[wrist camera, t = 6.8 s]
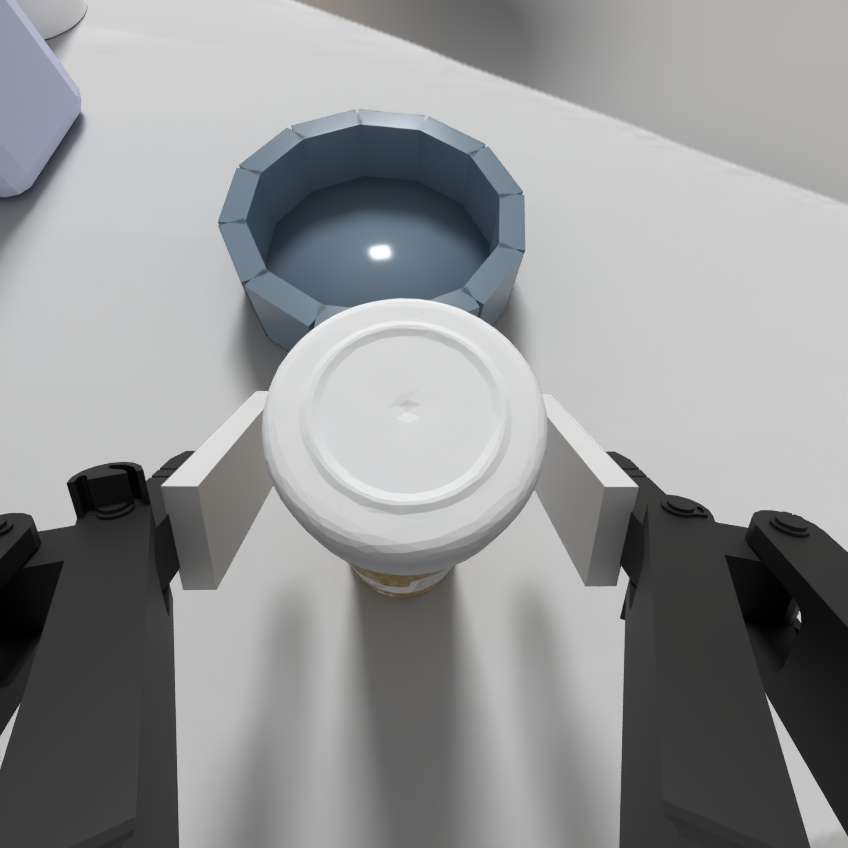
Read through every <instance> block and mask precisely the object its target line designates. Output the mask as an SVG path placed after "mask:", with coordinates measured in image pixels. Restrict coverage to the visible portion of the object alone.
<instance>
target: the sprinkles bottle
mask: <svg viewBox="0 0 848 848" xmlns="http://www.w3.org/2000/svg"><path fill="white" fill-rule="evenodd" d="M261 436H262V447H263V452H264V458H265V464H266V467H267V470H268V473H269V476H270V478H271V480H272V483H273V485H274V487H275V489H276V491H277V493H278V495H279V496H280V498H281V500H282V501H283V503H284V504H285V506H286V507H287V509H288V510H289V511H290V512H291V514H292V515H293V516H294V517H295V518H296V520H297V521H298V522H299V523H300V524H301V525H302V526H303V527H304V529H305V530H306V531H307V532H308V533H309V534H311V535H312V536H313V537H314V538H315V539H316V540H317V541H318V542H319V543H321V544H322V545H323V546H324V547H325V548H327V549H328V550H329V551H331V552H332V553H333V554H335V555H337V556H338V557H340V558H341V559H343V560H345V561H346V562H347V563H348V564H349V565H350V566H351V567H352V568H353V569H354V570H355V571H356V572H357V574H358V576H359V577H360V578H361V579H362V580H363V582H364V583H365V584H367V585H368V586H369V587H370V588H372V589H373V590H375V591H376V592H378V593H380V594H382V595H385V596H389V597H394V598H410V597H415V596H417V595H420V594H423V593H426V592H428V591H430V590H431V589H432V588H433V587H434V586H435V585H437V584H438V583H440V582H441V581H442V580H443V578H444V577H445V576H446V574H447V573H448V572H449V571H450V570H451V569H452V568H453V567H454V566H455V565H456V564H459V563H461V562H463V561H465V560H467V559H469V558H470V557H472V556H474V555H475V554H477V553H478V552H480V551H481V550H482V549H483V548H485V547H486V546H487V545H488V544H490V543H491V542H492V541H493V540H494V539H495V538H496V537H497V536H499V535H500V534H501V533H502V532H503V531H504V530H505V529H506V528H507V527H508V526H509V525H510V523H511V522H512V521H513V520H514V519H515V518H516V517H517V516H518V514H519V513H520V512H521V510H522V509H523V508H524V506H525V505H526V503H527V501H528V500H529V498H530V496H531V494H532V493H533V491H534V489H535V487H536V485H537V482H538V480H539V477H540V475H541V472H542V469H543V465H544V461H545V456H546V452H547V441H548V421H547V412H546V407H545V403H544V399H543V396H542V393H541V390H540V387H539V384H538V382H537V380H536V378H535V376H534V373H533V371H532V370H531V368H530V366H529V364H528V363H527V362H526V360H525V359H524V358H523V356H522V355H521V354H520V352H519V351H518V350H517V349H516V348H515V346H514V345H513V344H512V343H511V342H510V341H509V340H508V339H507V338H506V337H505V336H503V335H502V334H501V333H500V332H499V331H498V330H496V329H495V328H494V327H492V326H491V325H489V324H488V323H486V322H485V321H483V320H482V319H480V318H478V317H476V316H474V315H472V314H470V313H468V312H466V311H464V310H461V309H459V308H457V307H453V306H450V305H447V304H444V303H439V302H435V301H429V300H422V299H404V298H398V299H387V300H380V301H374V302H369V303H365V304H362V305H358V306H355V307H352V308H350V309H347V310H345V311H343V312H340V313H338V314H336V315H334V316H332V317H330V318H329V319H327V320H325V321H324V322H322V323H321V324H319V325H318V326H316V327H315V328H314V329H312V330H311V331H310V332H309V333H308V334H306V335H305V336H304V337H303V338H302V339H301V340H300V341H299V342H298V343H297V344H296V345H295V346H294V347H293V348H292V350H291V351H290V352H289V353H288V355H287V356H286V358H285V359H284V360H283V362H282V363H281V364H280V366H279V368H278V370H277V372H276V374H275V376H274V378H273V380H272V383H271V385H270V387H269V390H268V394H267V397H266V401H265V406H264V410H263V415H262V432H261Z"/></svg>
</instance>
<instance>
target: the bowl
mask: <svg viewBox="0 0 848 848" xmlns="http://www.w3.org/2000/svg"><path fill="white" fill-rule="evenodd" d="M291 127H292V130H291V129H289V128H286V129H285V130H284V131H282V132H281V133H280V134H278V135H277V136H276V137H274V138H273V139H272V140H271V141H269V142H268V143H267V144H265V145H264V146H263V147H262V148H260V149H259V150H258V151H256V152H255V153H254V154H253V155H251V156H250V157H249V158H247V159H246V160H245V161H244V162H242V163H241V164H240V165H239V166H240V169H239V168H236V171H235V174H234V177H233V180H232V183H231V186H230V189H229V191H228V194H227V197H226V200H225V203H224V206H223V209H222V212H221V214H220V217H219V220H218V223H219V225H218V227H219V229H220V232H221V234H222V237H223V239H224V241H225V244H226V246H227V249H228V251H229V254H230V256H231V259H232V261H233V264H234V266H235V269H236V271H237V274H238V276H239V279H240V281H241V283H242V285H243V287H244V290H245V292H246V294H247V296H248V298H249V300H250V302H251V304H252V306H253V308H254V310H255V313H256V315H257V317H258V319H259V321H260V323H261V325H262V327H263V329H264V331H265V333H266V336H268V337H269V339H270V340H271V341H273V342H274V343H276V344H277V345H279V346H280V347H282V348H283V349H285V350H287V351H288V352H290V351H291V350H292V348H293V347H294V346H295V345H296V344H297V343H298V342H299V341H300V340H301V339H302V338H303V337H304V336H305V335H306V334H308V333H309V332H310V331H311V330H312V329H314V328H315V327H316V326H318V325H319V324H321V323H322V322H324V321H325V320H327V319H329V318H330V317H332V316H334V315H336V314H338V313H340V312H343V311H345V310H347V309H350V308H352V307H355V306H358V305H362V304H365V303H369V302H374V301H380V300H387V299H398V298H404V299H422V300H429V301H435V302H439V303H444V304H447V305H450V306H453V307H457V308H459V309H461V310H464V311H466V312H468V313H470V314H472V315H474V316H476V317H478V318H480V319H482V320H483V321H485V322H486V323H488V324H489V325H491V326H493V325H494V323H495V322H496V321H497V319H498V318H499V317H500V315H501V314H502V313H503V311H504V310H505V309H506V306H507V303H508V300H509V297H510V294H511V291H512V288H513V285H514V282H515V279H516V276H517V273H518V270H519V267H520V264H521V261H522V258H523V255H524V252H525V211H524V195H522V193H523V191H522V190H521V188H520V187H519V186H518V185H517V183H516V182H515V181H514V179H513V178H512V177H511V175H510V174H509V173H508V171H507V170H506V169H505V168H504V166H503V165H502V164H501V162H500V161H499V160H498V158H497V157H496V156H495V154H494V153H493V152H492V151H491V149H490V148H489V147H485V144H484V143H482V142H480V141H478V140H476V139H474V138H472V137H470V136H468V135H466V134H464V133H462V132H460V131H458V130H456V129H453V128H451V127H449V126H447V125H445V124H443V123H441V122H439V121H437V120H435V119H433V118H431V117H428V118H427V119H426V120H425V115H415V114H404V113H394V112H383V111H373V110H362V109H359V113H358V114H357V112H356V111H355V110H351V111H347V112H343V113H339V114H335V115H331V116H327V117H324V118H320V119H316V120H312V121H308V122H304V123H300V124H296V125H292V126H291Z"/></svg>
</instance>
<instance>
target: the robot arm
mask: <svg viewBox="0 0 848 848" xmlns="http://www.w3.org/2000/svg"><path fill="white" fill-rule="evenodd" d="M267 394H268V391H256V392H255V393H254V394H253V395H252V396H251V397H250V398H249V399H248V400H247V401H246V402H245V403H244V404H243V405H242V406H241V407H240V408H239V409H238V410H237V411H236V412H235V413H234V414H233V415H232V416H231V417H230V418H229V419H228V420H227V421H226V422H225V423H224V424H223V425H222V426H221V427H220V428H219V429H218V430H217V431H216V432H215V433H214V434H213V435H212V436H211V437H210V438H209V439H208V440H207V441H206V442H205V443H204V444H203V445H202V446H201V447H200V448H199V449H198V450H197V451H185V452H183V453H181V454H179V455H177V456H175V457H173V458H171V459H170V460H169V461H168V462H166V463H165V464H164V465H163V466H162V467H161V468H160V470H158V471H157V472H156V473H155V474H153V475H152V478H149V479H148V480H147V481H146V480H145V476H144V472H143V469H142V467H141V465H138V464H136V463H130V462H117V463H108V464H104V465H99V466H95V467H92V468H89V469H87V470H84V471H81V472H80V473H78V474H76V475H75V476H73V477H71V479H70V480H69V481H68V482H67V486H68V489H69V493H70V496H71V499H72V502H73V506H74V509H75V512H76V516H77V521H76V524H75V525H74V526H70V527H64V528H58V529H52V530H46V531H40V532H38V531H37V528H36V526H35V523H34V520H33V518H32V516H31V515H27V514H24V513H8V514H3V515H0V736H1V734H2V732H3V731H4V729H5V727H6V726H7V724H8V722H9V721H10V719H11V717H12V716H13V714H14V712H15V711H16V709H17V707H18V706H19V704H20V702H21V704H20V707H19V710H18V713H17V717H16V720H15V723H14V727H13V730H12V733H11V736H10V740H9V743H8V746H7V749H6V753H5V756H4V759H3V762H2V766H1V769H0V848H179V827H178V787H177V748H176V708H175V669H174V629H173V597H172V593H171V588H170V584H169V583H170V582H171V580H172V579H173V577H174V576H175V574H176V573H177V572H178V570H179V573H180V577H181V582H182V587H183V590H217V588H218V586H219V584H220V582H221V581H222V579H223V577H224V575H225V573H226V571H227V570H228V568H229V566H230V564H231V562H232V560H233V558H234V557H235V555H236V553H237V551H238V549H239V547H240V546H241V544H242V542H243V540H244V538H245V536H246V535H247V533H248V531H249V529H250V527H251V525H252V524H253V522H254V520H255V518H256V516H257V514H258V512H259V511H260V509H261V507H262V505H263V503H264V501H265V500H266V498H267V496H268V494H269V492H270V490H271V489H272V487H273V483H272V480H271V478H270V476H269V473H268V470H267V467H266V464H265V458H264V452H263V447H262V436H261V432H262V415H263V410H264V406H265V401H266V397H267ZM542 396H543V399H544V403H545V407H546V412H547V421H548V441H547V452H546V456H545V461H544V465H543V469H542V472H541V475H540V477H539V480H538V482H537V485H536V487H535V491H536V493H537V495H538V497H539V499H540V501H541V503H542V505H543V507H544V508H545V510H546V512H547V514H548V516H549V518H550V520H551V522H552V524H553V526H554V527H555V529H556V531H557V533H558V535H559V537H560V539H561V541H562V543H563V545H564V546H565V548H566V550H567V552H568V554H569V556H570V558H571V560H572V562H573V564H574V565H575V567H576V569H577V571H578V573H579V575H580V577H581V579H582V581H583V583H584V584H585V586H616V585H617V581H618V576H619V572H620V567H621V566H622V567H623V569H624V570H625V572H626V573H627V575H628V576H629V578H630V579H629V583H628V587H627V591H626V596H625V600H624V604H623V608H622V612H621V616H620V619H623V620H625V652H624V690H623V729H622V767H621V805H620V843H619V848H810V845H809V841H808V838H807V835H806V831H805V828H804V824H803V821H802V817H801V814H800V811H799V807H798V804H797V800H796V797H795V794H794V790H793V787H792V783H791V780H790V777H789V773H788V770H787V766H786V763H785V759H784V756H783V753H782V749H781V746H780V742H779V739H778V736H777V732H776V729H775V725H774V722H773V718H772V715H771V712H770V708H769V705H768V701H767V698H766V695H767V697H768V698H769V700H770V702H771V704H772V705H773V707H774V709H775V711H776V712H777V714H778V716H779V718H780V719H781V721H782V723H783V725H784V726H785V728H786V730H787V731H788V733H789V735H790V737H791V738H792V740H793V742H794V744H795V745H796V747H797V749H798V751H799V752H800V754H801V756H802V758H803V759H804V761H805V763H806V764H807V766H808V768H809V770H810V771H811V773H812V775H813V777H814V778H815V780H816V782H817V784H818V785H819V787H820V789H821V790H822V792H823V794H824V796H825V797H826V799H827V801H828V803H829V804H830V806H831V808H832V810H833V811H834V813H835V815H836V817H837V818H838V820H839V822H840V823H841V825H842V827H843V829H844V830H845V832H846V834H847V836H848V552H847V551H846V550H845V549H843V548H842V547H841V546H840V545H839V544H838V543H837V542H836V541H835V540H833V539H832V538H831V537H830V536H829V535H828V534H827V533H826V532H825V531H823V530H822V529H820V528H819V527H818V526H816V525H815V524H813V523H811V522H809V521H807V520H805V519H803V518H802V517H800V516H797V515H795V514H794V515H792V514H791V513H788V512H778V511H771V510H761V511H758V512H755V513H754V514H753V516H752V519H751V522H750V524H749V527H748V528H746V527H740V526H734V525H728V524H722V523H717V522H715V520H714V517H713V515H712V514H711V512H710V511H709V510H708V509H707V508H705V507H704V506H702V505H701V504H699V503H697V502H695V501H692V500H690V499H687V498H683V497H680V496H674V495H666V494H665V493H664V492H663V491H662V490H661V489H660V488H659V487H658V486H657V485H656V484H655V483H654V482H653V481H652V480H650V479H649V478H648V477H646V475H645V474H644V473H643V472H642V471H641V470H639V468H638V467H637V466H636V465H635V464H634V463H633V462H632V461H631V460H630V459H628V458H626V457H624V456H622V455H620V454H618V453H616V452H605V451H604V450H603V449H602V448H601V447H600V446H599V445H598V444H597V443H596V442H595V441H594V440H593V439H592V438H591V436H590V435H589V434H588V433H587V432H586V431H585V430H584V429H583V428H582V427H581V426H580V425H579V424H578V423H577V422H576V421H575V420H574V419H573V418H572V417H571V416H570V415H569V414H568V413H567V411H566V410H565V409H564V408H563V407H562V406H561V405H560V404H559V403H558V402H557V401H556V400H555V399H554V398H553V397H552V396H551V395H550V394H542ZM799 611H800V613H801V622H800V621H799V620H798V619H797V615H798V613H799ZM765 693H766V695H765Z"/></svg>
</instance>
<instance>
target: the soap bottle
mask: <svg viewBox="0 0 848 848" xmlns="http://www.w3.org/2000/svg"><path fill="white" fill-rule="evenodd" d="M80 110H81V97H80V93H79V88H78V86H77V85H76V84H75V82H74V81H73V80H72V78H71V77H70V75H69V74H68V73H67V71H66V70H65V68H64V67H63V66H62V64H61V63H60V62H59V60H58V59H57V57H56V56H55V55H54V53H53V52H52V50H51V49H50V48H49V46H48V45H47V44H46V42H45V41H44V39H43V38H42V37H41V35H40V34H39V32H38V31H37V30H36V28H35V27H34V26H33V24H32V23H31V21H30V20H29V19H28V17H27V16H26V14H25V13H24V12H23V10H22V9H21V7H20V6H19V5H18V3H17V2H16V1H15V0H0V197H9V196H14V195H19V194H21V193H22V192H24V191H25V190H27V189H29V188H30V187H31V186H32V185H33V183H34V182H35V180H36V179H37V177H38V176H39V174H40V173H41V171H42V170H43V168H44V167H45V165H46V163H47V162H48V160H49V159H50V157H51V156H52V154H53V153H54V151H55V150H56V148H57V147H58V145H59V144H60V142H61V141H62V139H63V138H64V136H65V135H66V133H67V131H68V130H69V128H70V127H71V125H72V124H73V122H74V121H75V119H76V118H77V116H78V115H79V113H80Z"/></svg>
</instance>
